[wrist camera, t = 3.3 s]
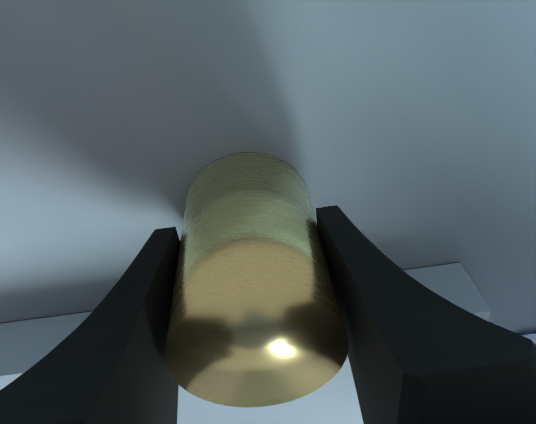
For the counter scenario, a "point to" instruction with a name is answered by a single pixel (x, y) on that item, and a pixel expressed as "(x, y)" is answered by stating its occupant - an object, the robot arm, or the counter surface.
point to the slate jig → (227, 417)
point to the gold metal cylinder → (252, 289)
